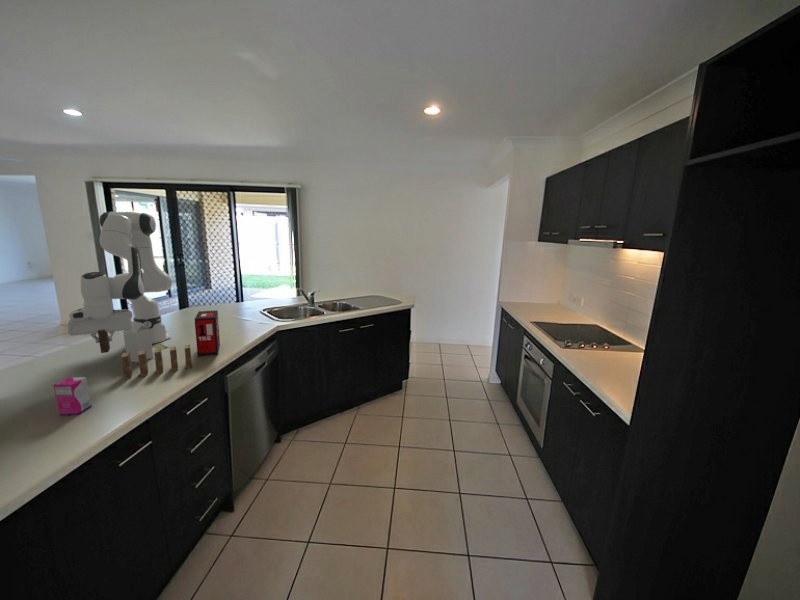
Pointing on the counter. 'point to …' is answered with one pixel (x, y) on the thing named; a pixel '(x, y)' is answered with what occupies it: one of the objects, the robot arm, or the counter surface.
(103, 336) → the tile
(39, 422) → the counter surface
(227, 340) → the counter surface
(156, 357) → the tile
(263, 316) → the counter surface
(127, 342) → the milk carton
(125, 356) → the tile
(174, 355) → the tile
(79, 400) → the supplement box
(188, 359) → the tile
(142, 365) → the tile
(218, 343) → the cleaning product box
